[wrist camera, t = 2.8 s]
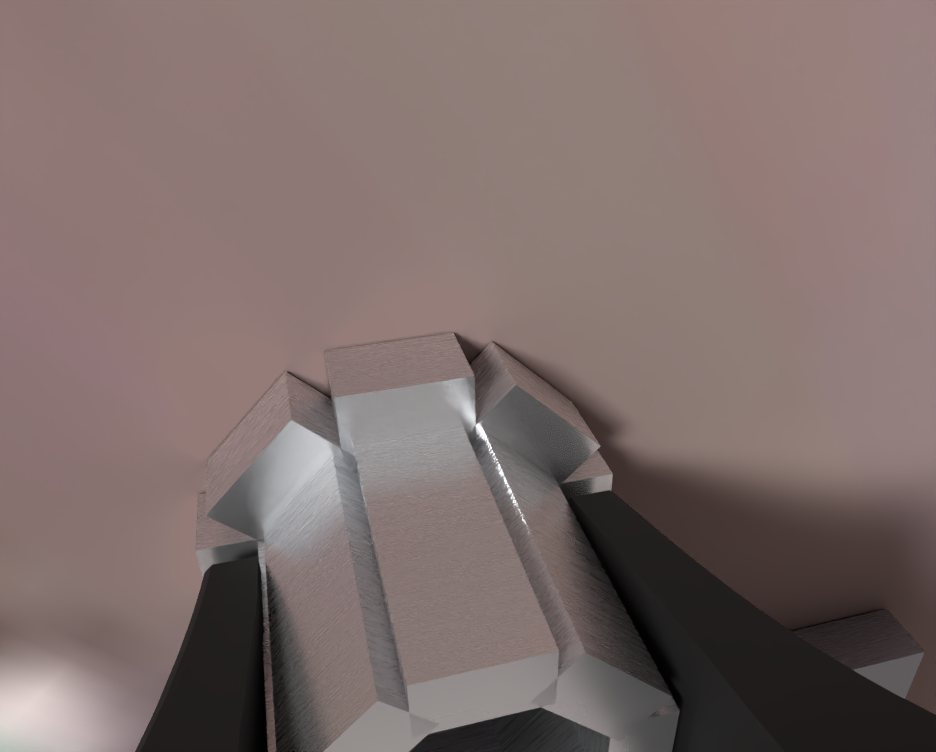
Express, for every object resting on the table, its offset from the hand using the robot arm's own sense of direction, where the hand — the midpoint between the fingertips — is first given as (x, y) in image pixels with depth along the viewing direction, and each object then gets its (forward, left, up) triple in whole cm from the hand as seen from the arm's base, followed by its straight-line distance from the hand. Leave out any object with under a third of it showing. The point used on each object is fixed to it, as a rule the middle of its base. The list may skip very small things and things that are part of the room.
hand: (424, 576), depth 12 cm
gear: (0, 0, -2) cm, 2 cm away
